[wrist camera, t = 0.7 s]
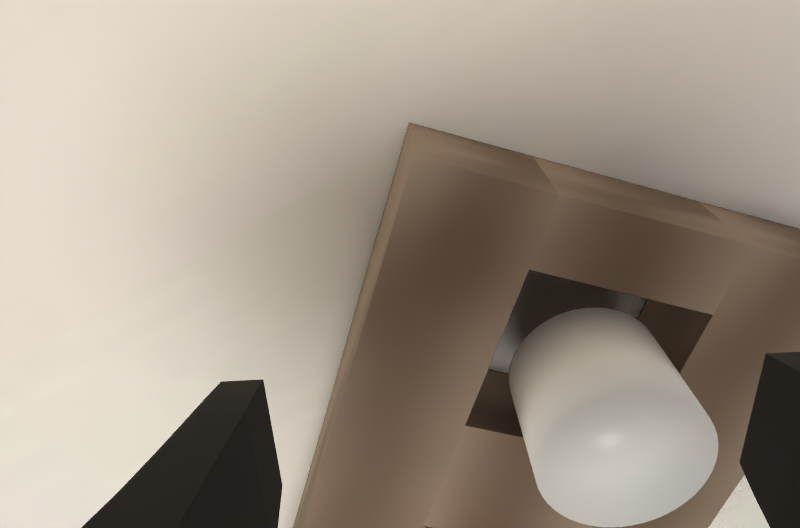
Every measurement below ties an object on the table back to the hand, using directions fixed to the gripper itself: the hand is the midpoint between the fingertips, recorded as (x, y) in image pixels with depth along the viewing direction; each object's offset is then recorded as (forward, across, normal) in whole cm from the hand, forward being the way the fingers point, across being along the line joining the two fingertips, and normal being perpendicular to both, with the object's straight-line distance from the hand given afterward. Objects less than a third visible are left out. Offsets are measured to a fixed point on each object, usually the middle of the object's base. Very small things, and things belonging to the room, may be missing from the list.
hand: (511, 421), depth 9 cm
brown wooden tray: (+10, -2, +8) cm, 13 cm away
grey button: (+6, -3, +4) cm, 8 cm away
